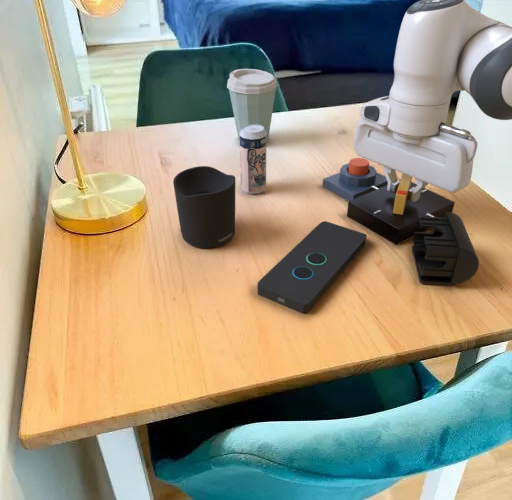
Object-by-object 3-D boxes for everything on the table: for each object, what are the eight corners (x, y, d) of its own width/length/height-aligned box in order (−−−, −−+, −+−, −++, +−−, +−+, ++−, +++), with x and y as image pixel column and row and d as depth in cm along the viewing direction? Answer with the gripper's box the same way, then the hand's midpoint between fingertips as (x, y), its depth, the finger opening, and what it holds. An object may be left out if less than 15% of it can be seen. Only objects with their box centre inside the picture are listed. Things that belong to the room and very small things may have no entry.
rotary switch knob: (400, 188, 89) (404, 169, 86) (409, 190, 88) (413, 170, 86) (392, 213, 82) (396, 193, 80) (402, 215, 81) (406, 194, 79)
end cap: (472, 289, 71) (484, 250, 67) (420, 286, 71) (429, 247, 67) (457, 249, 79) (467, 211, 75) (410, 246, 79) (418, 209, 76)
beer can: (254, 198, 92) (253, 135, 85) (235, 189, 95) (233, 128, 88) (271, 188, 95) (272, 127, 88) (253, 181, 98) (252, 121, 91)
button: (357, 166, 96) (359, 156, 95) (372, 173, 93) (373, 162, 92) (344, 171, 94) (345, 161, 93) (358, 178, 92) (359, 168, 91)
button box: (359, 172, 101) (361, 156, 99) (390, 187, 95) (393, 170, 93) (322, 186, 96) (323, 169, 94) (352, 203, 91) (354, 186, 89)
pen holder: (180, 253, 78) (174, 197, 72) (178, 221, 86) (172, 168, 80) (240, 247, 79) (239, 191, 74) (233, 217, 87) (231, 163, 81)
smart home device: (254, 283, 69) (322, 219, 83) (254, 293, 70) (321, 228, 84) (307, 305, 66) (369, 234, 79) (306, 315, 67) (368, 243, 80)
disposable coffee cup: (280, 134, 117) (282, 68, 108) (271, 154, 108) (272, 83, 99) (236, 131, 119) (234, 65, 110) (223, 149, 110) (220, 80, 101)
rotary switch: (396, 190, 94) (398, 175, 93) (456, 220, 86) (460, 203, 84) (342, 213, 88) (343, 197, 86) (401, 248, 79) (405, 231, 77)
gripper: (491, 128, 72) (469, 212, 80) (376, 95, 85) (367, 169, 93) (467, 140, 69) (447, 226, 77) (351, 103, 82) (344, 180, 89)
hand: (402, 195), depth 85 cm, fingers closed on rotary switch knob, 2 cm apart
